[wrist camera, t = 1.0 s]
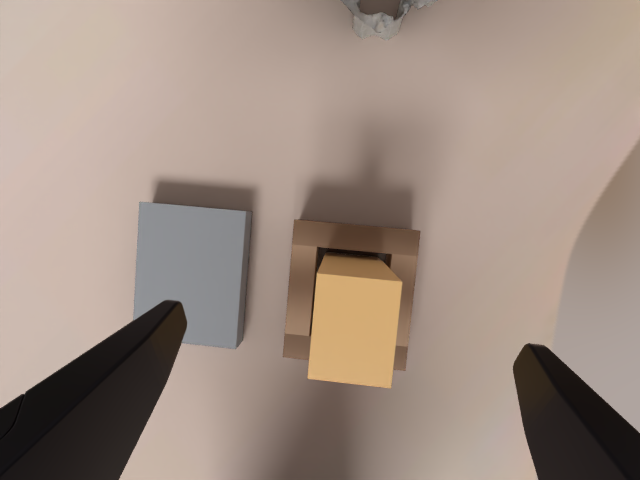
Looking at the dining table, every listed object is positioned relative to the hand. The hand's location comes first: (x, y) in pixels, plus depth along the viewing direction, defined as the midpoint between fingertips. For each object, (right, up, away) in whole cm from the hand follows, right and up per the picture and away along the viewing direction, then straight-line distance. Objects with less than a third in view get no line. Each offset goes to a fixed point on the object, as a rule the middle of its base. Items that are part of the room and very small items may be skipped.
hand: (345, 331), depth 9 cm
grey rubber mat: (-9, 0, +15) cm, 17 cm away
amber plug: (+1, -1, +14) cm, 14 cm away
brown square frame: (+1, -1, +14) cm, 14 cm away
